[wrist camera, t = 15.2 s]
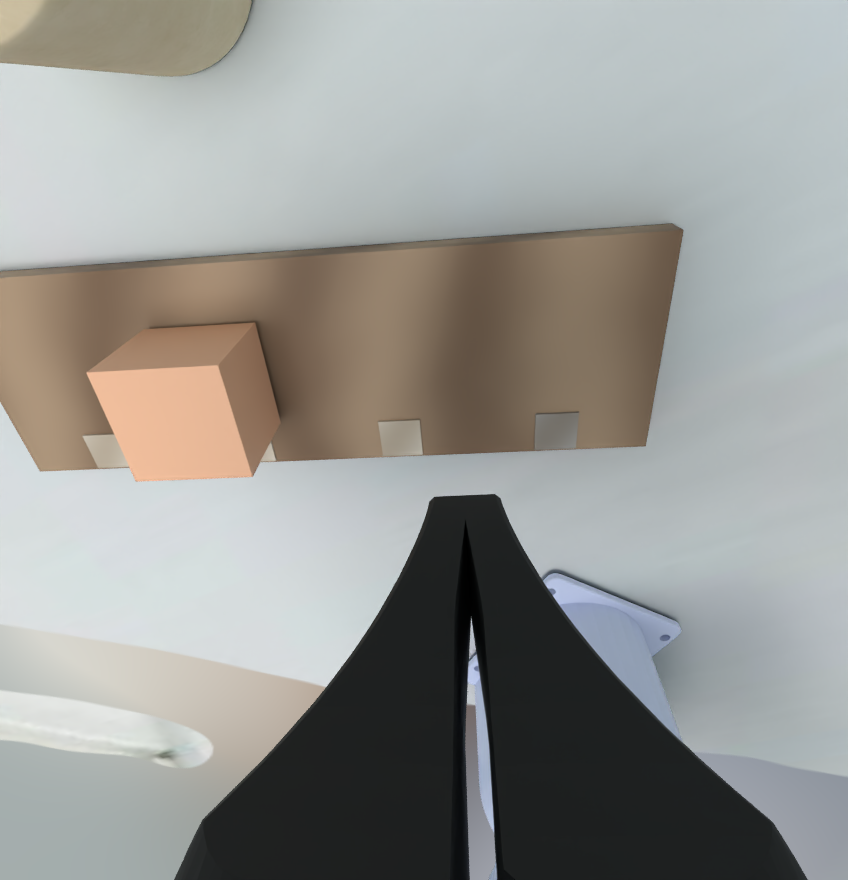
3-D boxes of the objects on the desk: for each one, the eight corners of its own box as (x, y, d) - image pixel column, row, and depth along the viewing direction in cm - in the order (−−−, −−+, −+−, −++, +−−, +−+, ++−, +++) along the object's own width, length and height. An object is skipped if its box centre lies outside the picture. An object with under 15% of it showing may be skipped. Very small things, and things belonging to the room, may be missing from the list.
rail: (671, 223, 17) (684, 230, 16) (637, 432, 22) (646, 447, 21) (-45, 274, 19) (-70, 283, 18) (54, 457, 23) (38, 472, 22)
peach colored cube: (255, 322, 18) (217, 365, 15) (280, 422, 20) (252, 476, 17) (143, 329, 19) (85, 372, 16) (180, 427, 21) (135, 481, 18)
